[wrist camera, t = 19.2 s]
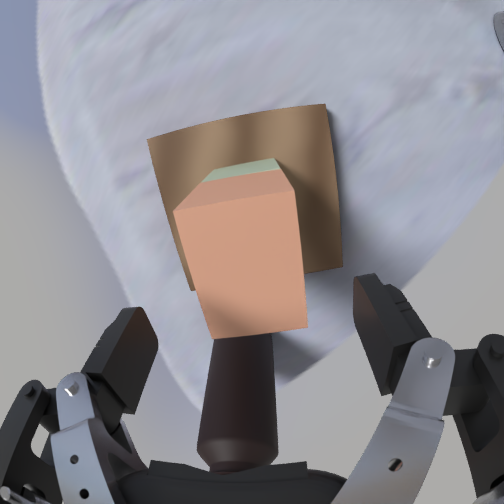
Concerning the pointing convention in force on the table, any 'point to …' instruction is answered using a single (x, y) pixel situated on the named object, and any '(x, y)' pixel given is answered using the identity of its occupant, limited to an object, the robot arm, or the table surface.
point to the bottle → (239, 406)
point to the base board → (254, 149)
